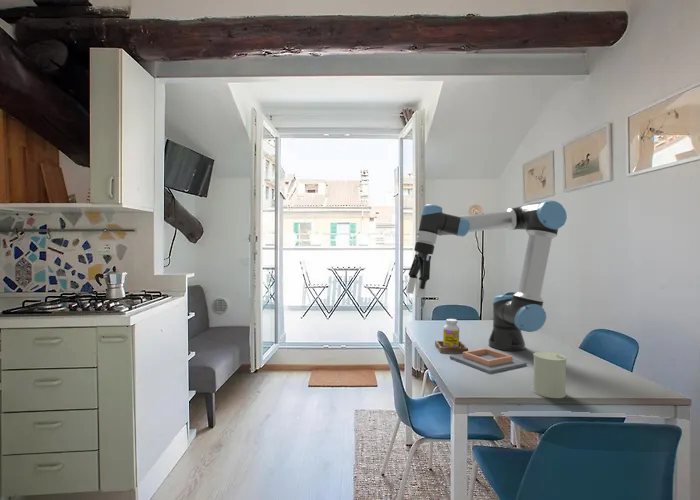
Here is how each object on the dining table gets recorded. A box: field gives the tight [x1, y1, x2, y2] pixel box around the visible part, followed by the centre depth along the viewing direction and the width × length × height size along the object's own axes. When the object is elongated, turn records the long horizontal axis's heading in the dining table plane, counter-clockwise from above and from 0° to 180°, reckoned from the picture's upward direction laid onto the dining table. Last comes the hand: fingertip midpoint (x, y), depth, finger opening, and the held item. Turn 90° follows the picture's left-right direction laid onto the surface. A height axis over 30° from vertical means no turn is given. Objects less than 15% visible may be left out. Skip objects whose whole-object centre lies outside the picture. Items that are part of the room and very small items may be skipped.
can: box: [532, 351, 567, 399], centre depth 120 cm, size 9×9×12 cm
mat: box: [449, 353, 527, 374], centre depth 150 cm, size 20×20×1 cm
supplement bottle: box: [442, 318, 460, 348], centre depth 168 cm, size 7×7×13 cm
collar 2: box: [462, 347, 514, 366], centre depth 150 cm, size 13×13×2 cm
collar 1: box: [434, 340, 469, 354], centre depth 168 cm, size 12×12×2 cm
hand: (414, 295), depth 154 cm, fingers open, 13 cm apart
